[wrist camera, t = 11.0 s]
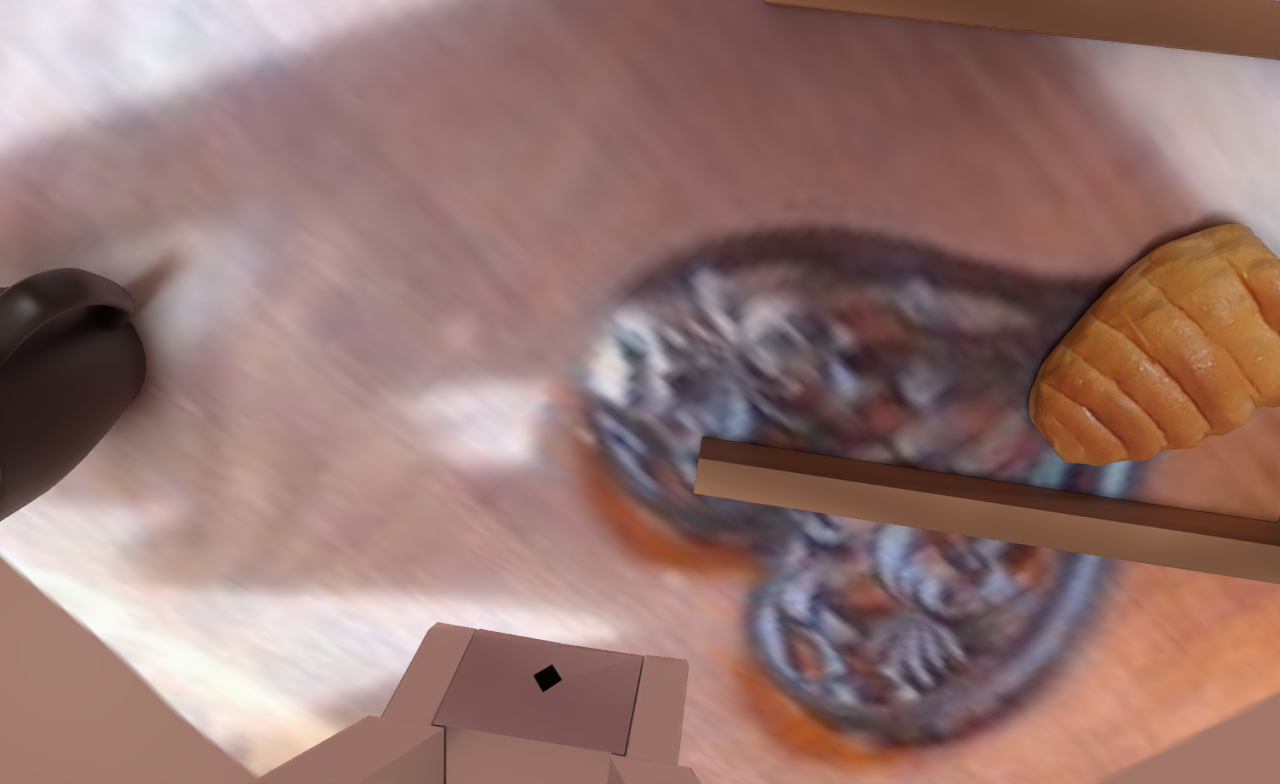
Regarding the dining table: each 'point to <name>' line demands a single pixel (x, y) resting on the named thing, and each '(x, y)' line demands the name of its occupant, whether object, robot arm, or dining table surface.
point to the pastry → (1167, 352)
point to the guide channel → (1199, 541)
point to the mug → (61, 376)
